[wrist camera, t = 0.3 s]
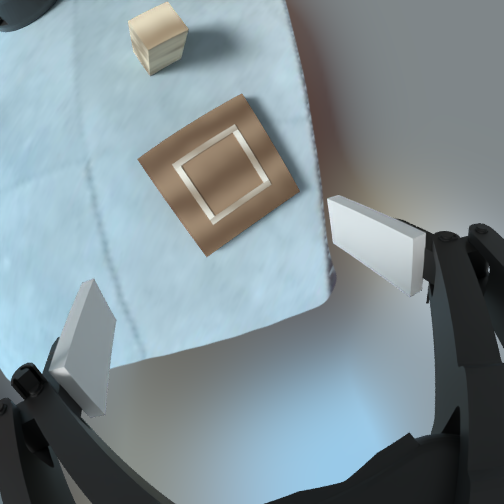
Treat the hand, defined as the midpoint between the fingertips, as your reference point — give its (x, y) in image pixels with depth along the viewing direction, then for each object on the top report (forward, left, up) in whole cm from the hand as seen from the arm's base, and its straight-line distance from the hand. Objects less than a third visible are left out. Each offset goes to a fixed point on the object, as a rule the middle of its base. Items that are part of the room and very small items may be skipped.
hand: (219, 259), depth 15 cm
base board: (-1, +6, -27) cm, 28 cm away
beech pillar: (-21, +5, -27) cm, 35 cm away
